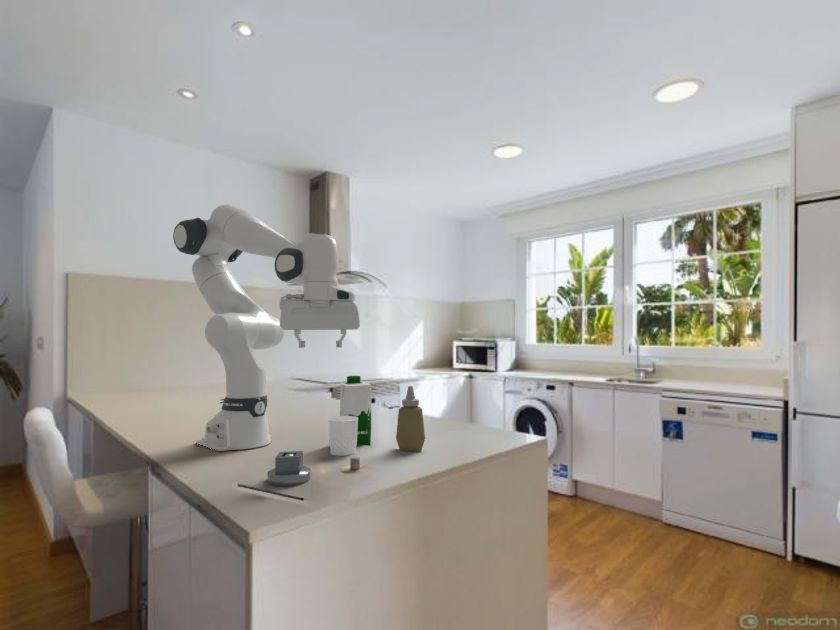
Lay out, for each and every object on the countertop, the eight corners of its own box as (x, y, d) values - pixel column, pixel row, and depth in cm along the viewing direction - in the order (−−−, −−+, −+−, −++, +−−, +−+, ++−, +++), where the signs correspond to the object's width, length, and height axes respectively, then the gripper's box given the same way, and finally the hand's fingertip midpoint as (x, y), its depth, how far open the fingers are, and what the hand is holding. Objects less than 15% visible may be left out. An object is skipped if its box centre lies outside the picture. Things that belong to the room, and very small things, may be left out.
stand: (333, 475, 104) (333, 459, 104) (351, 467, 110) (351, 452, 110) (358, 479, 101) (358, 463, 101) (375, 471, 107) (375, 456, 107)
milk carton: (365, 440, 138) (365, 375, 139) (374, 447, 130) (374, 377, 131) (337, 443, 135) (337, 376, 136) (344, 450, 127) (344, 378, 128)
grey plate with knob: (237, 486, 97) (238, 456, 97) (279, 471, 107) (279, 444, 108) (301, 500, 88) (301, 467, 89) (339, 482, 99) (339, 453, 99)
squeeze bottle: (391, 453, 123) (391, 387, 123) (403, 447, 130) (403, 384, 131) (418, 456, 120) (418, 388, 120) (429, 449, 127) (429, 385, 128)
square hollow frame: (275, 475, 95) (275, 457, 96) (279, 468, 100) (279, 451, 100) (299, 474, 96) (299, 456, 96) (302, 467, 101) (302, 451, 101)
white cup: (352, 460, 116) (352, 421, 117) (323, 459, 118) (323, 420, 118) (362, 452, 124) (362, 416, 124) (335, 451, 126) (335, 415, 126)
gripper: (277, 293, 113) (276, 348, 113) (359, 293, 116) (359, 347, 115) (282, 295, 120) (281, 347, 119) (359, 295, 122) (359, 347, 121)
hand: (320, 347), depth 117 cm, fingers open, 8 cm apart
